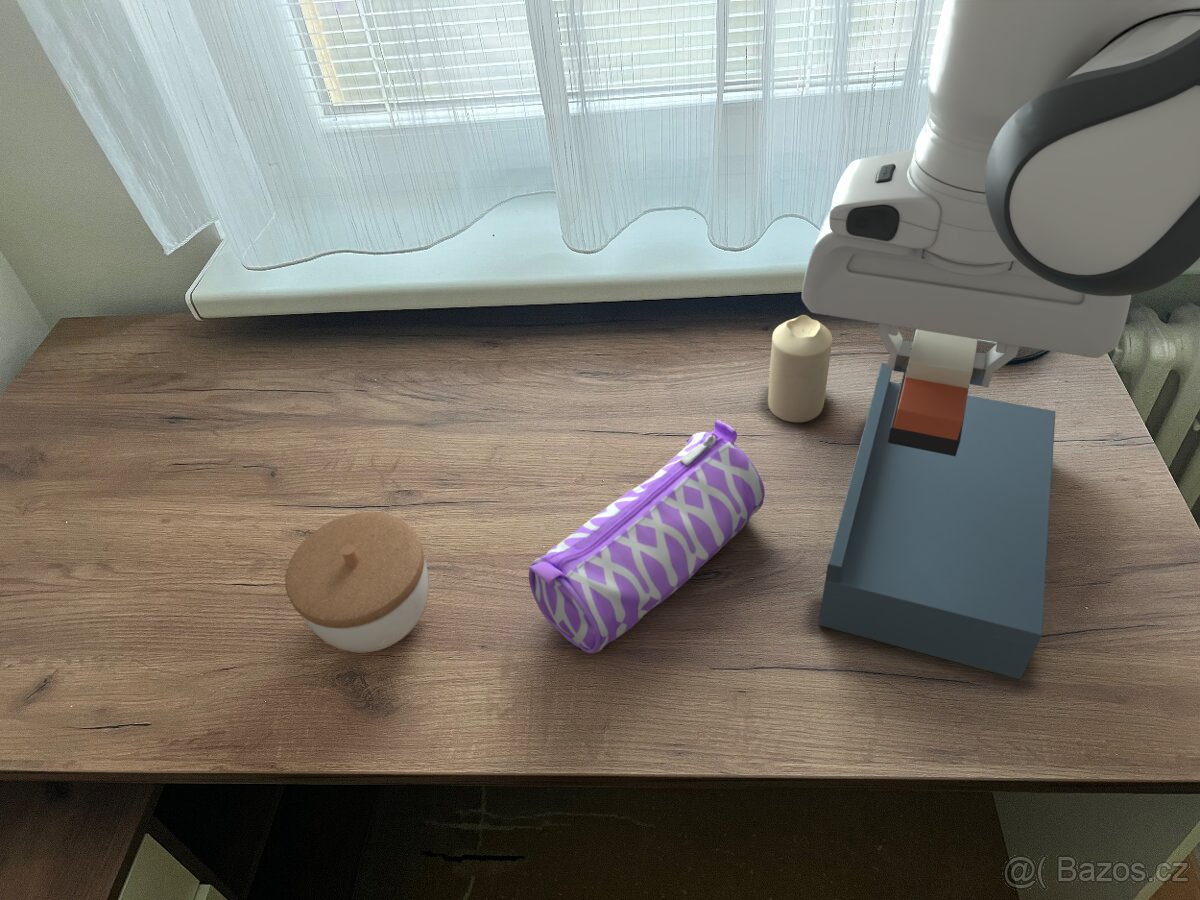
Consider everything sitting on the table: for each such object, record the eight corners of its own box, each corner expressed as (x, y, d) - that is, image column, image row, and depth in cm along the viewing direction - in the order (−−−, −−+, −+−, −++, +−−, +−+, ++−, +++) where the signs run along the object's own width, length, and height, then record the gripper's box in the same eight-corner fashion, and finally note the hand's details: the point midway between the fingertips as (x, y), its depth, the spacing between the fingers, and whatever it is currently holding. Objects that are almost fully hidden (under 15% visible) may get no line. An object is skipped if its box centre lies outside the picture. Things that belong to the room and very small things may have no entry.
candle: (764, 420, 87) (770, 340, 80) (770, 384, 90) (776, 304, 83) (821, 425, 85) (832, 345, 78) (825, 388, 89) (835, 309, 82)
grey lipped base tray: (1037, 458, 80) (1062, 393, 75) (1020, 680, 65) (1050, 619, 59) (869, 426, 85) (881, 362, 79) (817, 625, 70) (828, 564, 64)
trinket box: (468, 599, 74) (445, 529, 68) (382, 698, 68) (347, 631, 62) (377, 550, 79) (347, 480, 72) (288, 639, 73) (247, 571, 66)
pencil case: (693, 470, 83) (692, 395, 76) (774, 517, 78) (781, 442, 71) (524, 621, 72) (506, 550, 66) (606, 687, 67) (595, 618, 61)
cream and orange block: (911, 341, 70) (922, 292, 66) (972, 351, 68) (986, 301, 65) (887, 443, 62) (898, 393, 59) (955, 456, 60) (970, 406, 57)
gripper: (1169, 196, 52) (1095, 372, 62) (826, 159, 59) (807, 324, 69) (1174, 252, 48) (1094, 431, 58) (805, 207, 55) (789, 375, 65)
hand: (936, 373), depth 64 cm, fingers closed on cream and orange block, 4 cm apart
